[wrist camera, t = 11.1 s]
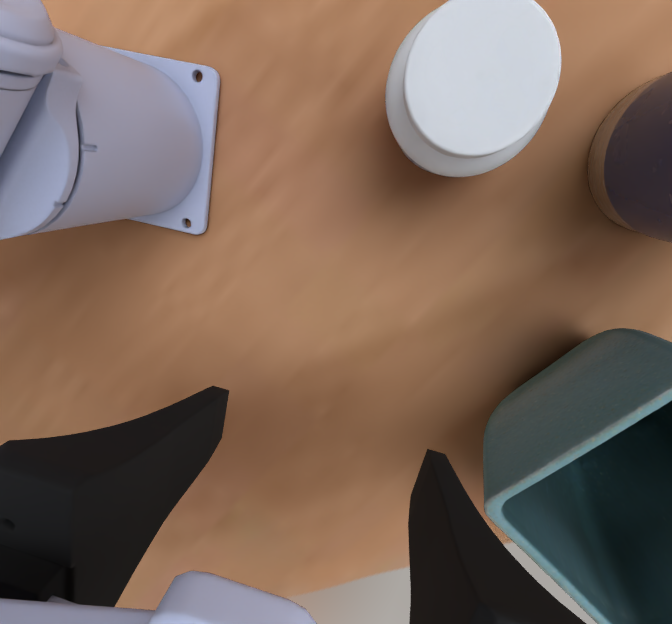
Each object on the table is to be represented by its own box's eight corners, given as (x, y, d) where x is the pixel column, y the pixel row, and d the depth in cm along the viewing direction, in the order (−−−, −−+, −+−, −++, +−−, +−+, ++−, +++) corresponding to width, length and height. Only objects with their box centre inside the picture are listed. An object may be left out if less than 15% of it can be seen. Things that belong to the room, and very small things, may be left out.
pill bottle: (371, 96, 20) (340, 43, 11) (476, 20, 18) (529, -106, 10) (428, 197, 21) (437, 215, 12) (532, 132, 19) (624, 104, 11)
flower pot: (454, 389, 24) (477, 510, 15) (597, 281, 21) (723, 358, 12) (559, 494, 24) (635, 663, 16) (710, 405, 22) (901, 556, 13)
